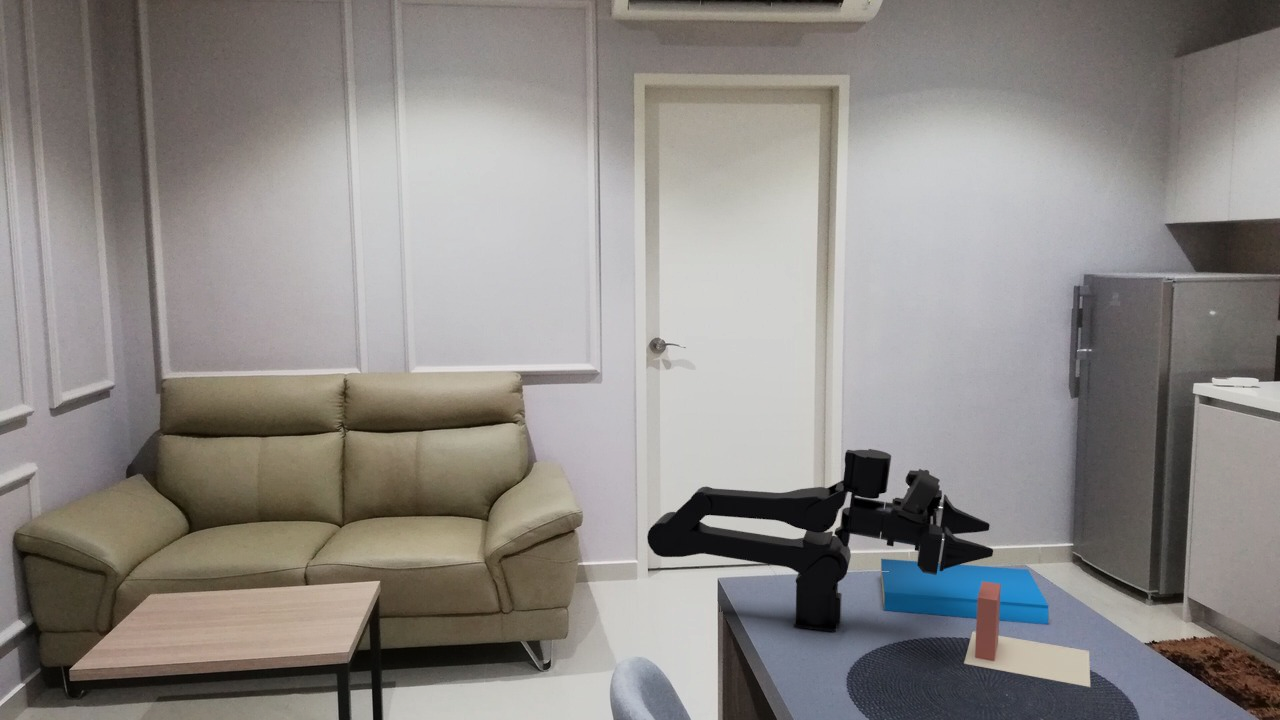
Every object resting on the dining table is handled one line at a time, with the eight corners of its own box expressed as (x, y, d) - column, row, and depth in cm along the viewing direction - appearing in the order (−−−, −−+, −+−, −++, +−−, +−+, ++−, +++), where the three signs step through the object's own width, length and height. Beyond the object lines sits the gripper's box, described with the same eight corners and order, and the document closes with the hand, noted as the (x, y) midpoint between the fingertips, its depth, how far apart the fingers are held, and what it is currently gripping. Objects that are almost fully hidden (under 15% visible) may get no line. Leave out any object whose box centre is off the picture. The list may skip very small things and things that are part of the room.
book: (879, 558, 161) (1028, 566, 156) (879, 581, 162) (1027, 590, 156) (884, 593, 144) (1050, 604, 139) (884, 619, 145) (1049, 630, 139)
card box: (975, 657, 128) (977, 597, 127) (979, 638, 134) (982, 581, 133) (994, 661, 127) (997, 600, 126) (998, 642, 133) (1000, 584, 132)
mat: (963, 666, 126) (963, 663, 126) (972, 634, 137) (972, 631, 137) (1090, 690, 119) (1090, 686, 119) (1088, 654, 130) (1089, 651, 130)
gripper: (886, 493, 126) (1004, 513, 122) (892, 451, 143) (995, 467, 139) (876, 565, 129) (991, 587, 124) (883, 515, 146) (984, 533, 142)
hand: (991, 539), depth 132 cm, fingers open, 9 cm apart
